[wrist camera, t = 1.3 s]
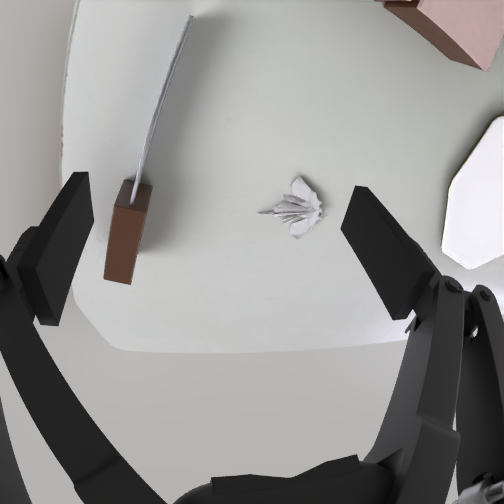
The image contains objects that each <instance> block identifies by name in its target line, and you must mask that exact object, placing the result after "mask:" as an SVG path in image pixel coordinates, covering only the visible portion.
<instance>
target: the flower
mask: <svg viewBox="0 0 504 504" xmlns="http://www.w3.org/2000/svg"><path fill="white" fill-rule="evenodd" d="M291 189H292V193H293V195H295V196H298V197H300V198H302V199H304V200H305V201H304V200H297V199H295V198H294V197H292V196H290V195H284V198H285V199H286V200H288V201H290V202H295V203H296V204H299V205H301V206H298V205H294V204H291V203H289V202H286V201H282V202H280V203H278V204H279V205H276V206H274V207H273V208H272V209H273V210H274V211H275V213H279V214H275V215H273V216H274V217H281V216H286V215H293V214H298V215H299V216H301V217H302V218H305V219H303V220H301V221H298V222H295V223H292V225H291V229H290V232H291V234H292V236H294V237H295V238H296V239H299V238H300V237H301V236H302V235H303V234H304V233H305V232H306V231H307V230H309V229H310V228H312V227H314V223H315V222H316V221H317V220H318V219H321V218H319V213H320V212H321V213H320V214H321V215H322V216H321V217H324V216H327V215H325V214H323V213H324V211H325V209H324V208H323V206H321V207H319V205H320V203H321V204H322V202H321V201H319V200H318V199H317V197H316V193H315V192H316V191H315V192H313V191H312V190H311V189H310V188H309V187H308V186H307V185H306V183H305V182H304V181H303V180H302V179H301V177H300V178H298V179H297V180H295V181H294V182H293V184H292V186H291ZM306 201H307V202H306ZM274 211H267V212H259V214H269V213H273V212H274ZM306 213H308V214H306ZM298 215H295V217H296V216H298ZM291 218H293V217H291ZM291 218H286V219H283V220H281V221H286V220H289V219H291ZM297 218H298V217H297ZM295 219H296V218H295ZM295 219H291V220H289V221H287V222H285V223H289V222H291V221H293V220H295ZM322 220H323V219H322ZM279 222H280V221H279ZM283 224H284V223H283ZM312 229H313V228H312Z"/></svg>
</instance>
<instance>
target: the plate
mask: <svg viewBox="0 0 504 504" xmlns="http://www.w3.org/2000/svg"><path fill="white" fill-rule="evenodd" d="M441 249H442V251H443V252H444V253H445V254H446V255H448V256H449V257H451V258H452V259H454V260H455V261H457V262H458V263H459V264H461V265H462V266H464V267H465V268H466V269H474V268H476V267H478V266H480V265H482V264H485V263H487V262H489V261H491V260H493V259H495V258H497V257H499V256H501V255H503V254H504V116H498V117H496V118H495V119H494V120H492V121H491V123H490V125H489V126H488V128H487V129H486V131H485V132H484V134H483V135H482V137H481V138H480V140H479V141H478V143H477V144H476V146H475V147H474V149H473V150H472V152H471V153H470V154H469V156H468V157H467V159H466V160H465V162H464V163H463V164H462V166H461V167H460V169H459V170H458V171H457V173H456V174H455V175H454V177H453V178H452V180H451V182H450V185H449V187H448V195H447V205H446V213H445V221H444V228H443V235H442V241H441Z"/></svg>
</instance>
